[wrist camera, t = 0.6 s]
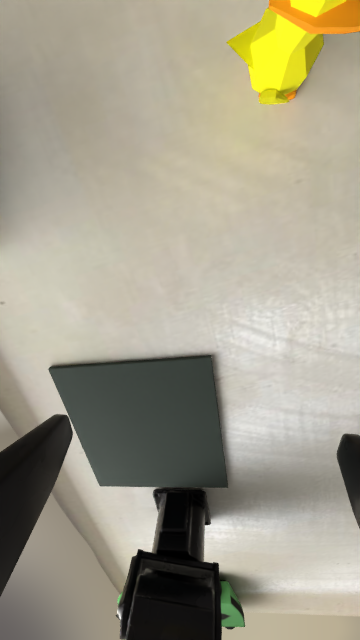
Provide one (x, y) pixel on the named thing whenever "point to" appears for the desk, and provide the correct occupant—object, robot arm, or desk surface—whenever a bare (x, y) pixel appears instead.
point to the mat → (147, 421)
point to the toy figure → (291, 43)
